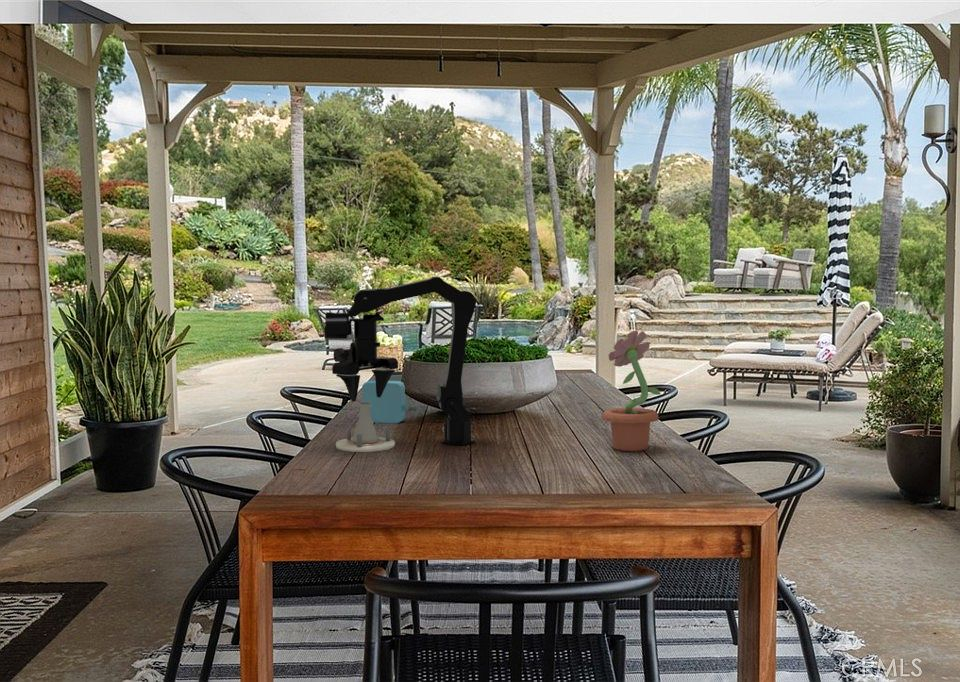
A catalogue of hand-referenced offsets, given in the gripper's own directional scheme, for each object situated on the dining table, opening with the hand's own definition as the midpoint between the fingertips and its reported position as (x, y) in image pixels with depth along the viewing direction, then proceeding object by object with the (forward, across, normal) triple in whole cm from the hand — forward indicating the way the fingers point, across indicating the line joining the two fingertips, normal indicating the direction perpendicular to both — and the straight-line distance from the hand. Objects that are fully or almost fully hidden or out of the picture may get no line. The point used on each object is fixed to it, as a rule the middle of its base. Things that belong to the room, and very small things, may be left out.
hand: (366, 399), depth 233 cm
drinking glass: (+12, -47, -33) cm, 59 cm away
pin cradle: (+12, +1, 0) cm, 12 cm away
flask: (+11, +1, 0) cm, 11 cm away
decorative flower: (+12, -36, +57) cm, 69 cm away
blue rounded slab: (+12, -29, -21) cm, 38 cm away
